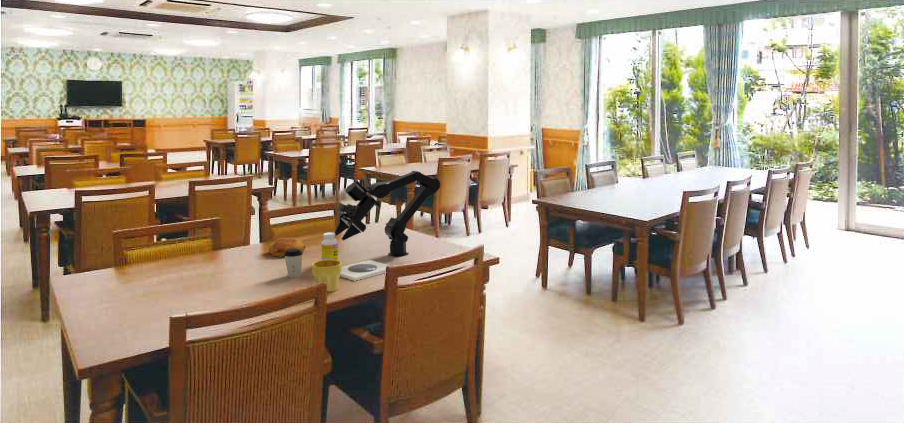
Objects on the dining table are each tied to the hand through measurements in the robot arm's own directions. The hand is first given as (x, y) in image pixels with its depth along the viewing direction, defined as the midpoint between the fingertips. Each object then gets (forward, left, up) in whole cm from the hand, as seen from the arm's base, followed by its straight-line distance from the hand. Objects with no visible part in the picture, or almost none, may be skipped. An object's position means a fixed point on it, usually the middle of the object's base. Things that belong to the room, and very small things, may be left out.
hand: (338, 237), depth 255 cm
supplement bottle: (+4, -1, -11) cm, 12 cm away
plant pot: (+25, +26, -11) cm, 37 cm away
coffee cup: (+23, +2, -11) cm, 25 cm away
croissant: (+5, -31, -11) cm, 33 cm away
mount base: (+2, +17, -11) cm, 20 cm away
